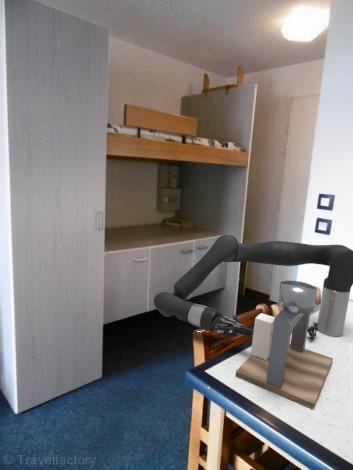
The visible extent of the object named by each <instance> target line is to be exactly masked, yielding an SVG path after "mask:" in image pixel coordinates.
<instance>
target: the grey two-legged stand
mask: <svg viewBox="0 0 353 470" xmlns="http://www.w3.org/2000/svg"><path fill="white" fill-rule="evenodd" d="M278 289H279V290H278V298H277V306H278V307H280V308H281V309H282V310H281V311H280V312H279V313H278V314H277V315H276V316H274V317H275V318H274V325H273V333H272V340H271V348H270V355H269V363H268V370H267V378H266V383H268V384H270V385H273V386H275V387H278V388H280V389H281V387H282V386H283V384H284V380H285V373H286V366H287V359H288V352H289V345H290V349H292V350H295V351H297V352H300V353H303V351H304V350H305V349H306V344H307V339H308V338H307V337H308V336H307V335H308V332H307V331H308V327H309V324H310V317H311V313H313V312H315V307H316V301H317V294H318V288H317V287H316V286H314V285H312V284H310V283H307V282H303V281H298V280H282V281H280V283H279V288H278ZM291 331H292V332H291Z"/></svg>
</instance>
